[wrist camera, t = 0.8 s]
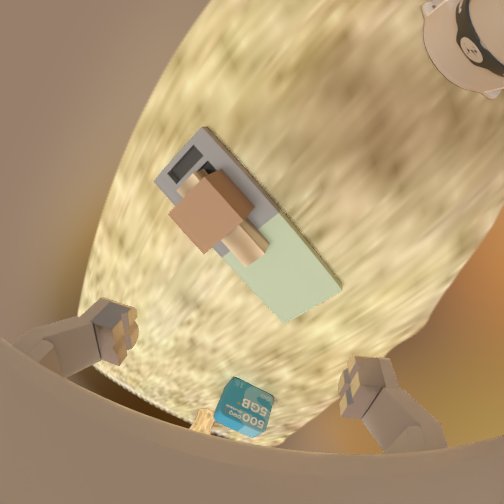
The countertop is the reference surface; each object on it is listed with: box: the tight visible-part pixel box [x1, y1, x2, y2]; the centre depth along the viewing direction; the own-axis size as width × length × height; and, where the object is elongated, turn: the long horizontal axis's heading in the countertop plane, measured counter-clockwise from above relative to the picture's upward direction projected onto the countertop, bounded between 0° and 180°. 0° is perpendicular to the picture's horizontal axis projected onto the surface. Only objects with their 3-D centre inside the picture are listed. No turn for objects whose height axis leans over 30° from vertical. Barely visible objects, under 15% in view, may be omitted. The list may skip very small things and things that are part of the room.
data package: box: [213, 378, 273, 438], centre depth 62 cm, size 12×4×12 cm, turn 62°
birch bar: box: [177, 169, 270, 267], centre depth 44 cm, size 4×16×4 cm, turn 43°
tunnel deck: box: [154, 127, 342, 324], centre depth 45 cm, size 13×35×9 cm, turn 43°
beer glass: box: [190, 408, 215, 435], centre depth 71 cm, size 7×7×15 cm
